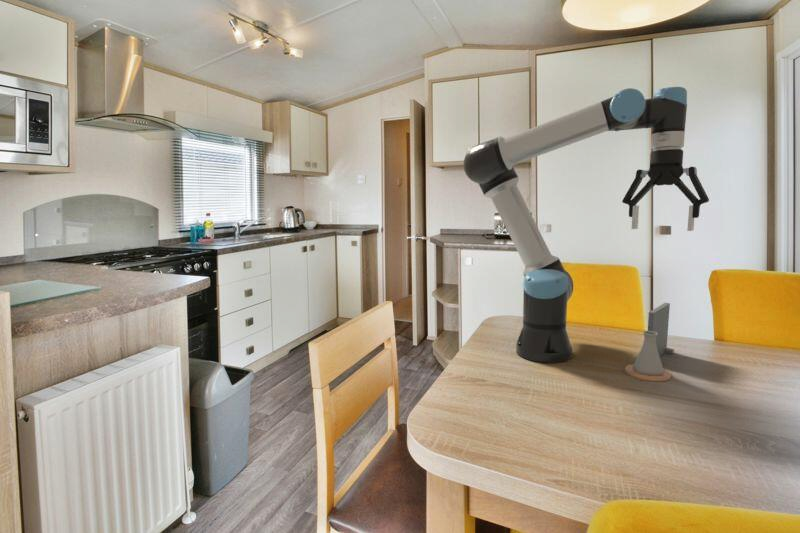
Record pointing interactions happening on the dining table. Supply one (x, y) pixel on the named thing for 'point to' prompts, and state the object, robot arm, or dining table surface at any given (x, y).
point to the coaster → (648, 377)
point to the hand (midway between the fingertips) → (661, 229)
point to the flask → (649, 356)
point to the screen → (660, 327)
